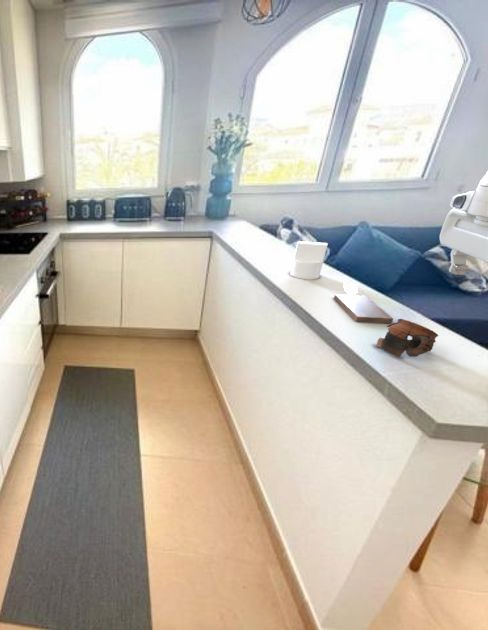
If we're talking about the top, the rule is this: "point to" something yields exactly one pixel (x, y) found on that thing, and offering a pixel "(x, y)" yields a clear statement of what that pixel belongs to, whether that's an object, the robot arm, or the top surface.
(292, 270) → the cylinder with rectangular tab
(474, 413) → the top surface
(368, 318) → the cutting board
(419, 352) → the pottery mug
